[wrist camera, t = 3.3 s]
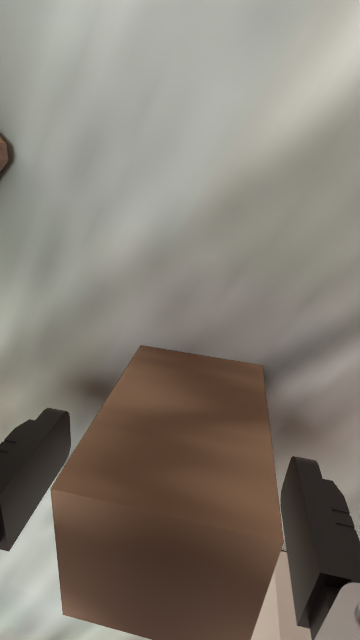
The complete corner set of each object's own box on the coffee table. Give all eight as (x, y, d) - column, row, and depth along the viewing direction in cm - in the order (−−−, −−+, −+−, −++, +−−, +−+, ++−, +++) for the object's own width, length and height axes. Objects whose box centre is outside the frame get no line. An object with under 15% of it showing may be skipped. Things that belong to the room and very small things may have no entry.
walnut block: (262, 365, 13) (283, 541, 6) (241, 458, 15) (242, 664, 8) (140, 344, 13) (50, 488, 7) (136, 437, 15) (62, 614, 9)
